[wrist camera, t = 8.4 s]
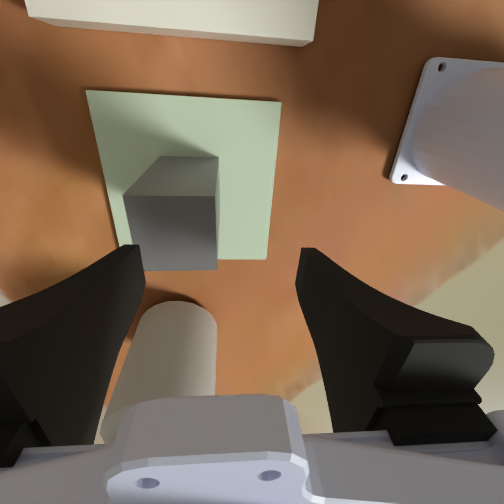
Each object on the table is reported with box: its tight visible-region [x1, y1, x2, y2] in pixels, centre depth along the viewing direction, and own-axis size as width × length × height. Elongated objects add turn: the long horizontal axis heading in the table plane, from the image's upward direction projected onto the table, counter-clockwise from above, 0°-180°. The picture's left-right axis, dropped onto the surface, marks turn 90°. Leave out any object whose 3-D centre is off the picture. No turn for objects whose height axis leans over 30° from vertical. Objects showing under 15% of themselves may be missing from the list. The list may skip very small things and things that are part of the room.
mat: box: [85, 90, 282, 259], centre depth 20 cm, size 12×12×1 cm
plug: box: [122, 156, 220, 271], centre depth 16 cm, size 4×4×8 cm
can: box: [100, 301, 217, 444], centre depth 22 cm, size 8×8×12 cm
